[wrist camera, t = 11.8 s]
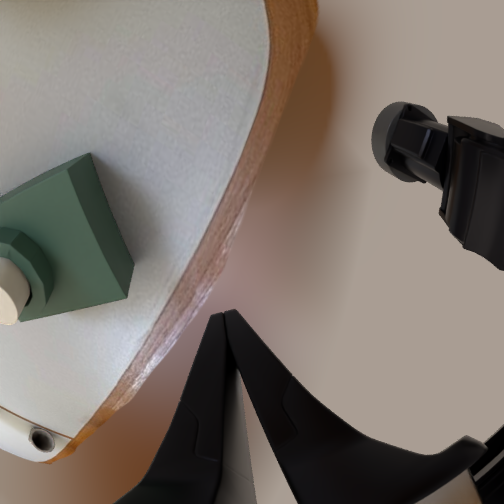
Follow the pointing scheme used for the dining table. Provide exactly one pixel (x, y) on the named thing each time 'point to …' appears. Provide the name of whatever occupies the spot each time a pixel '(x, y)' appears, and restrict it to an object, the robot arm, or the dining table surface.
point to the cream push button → (12, 291)
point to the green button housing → (64, 241)
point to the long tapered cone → (41, 440)
